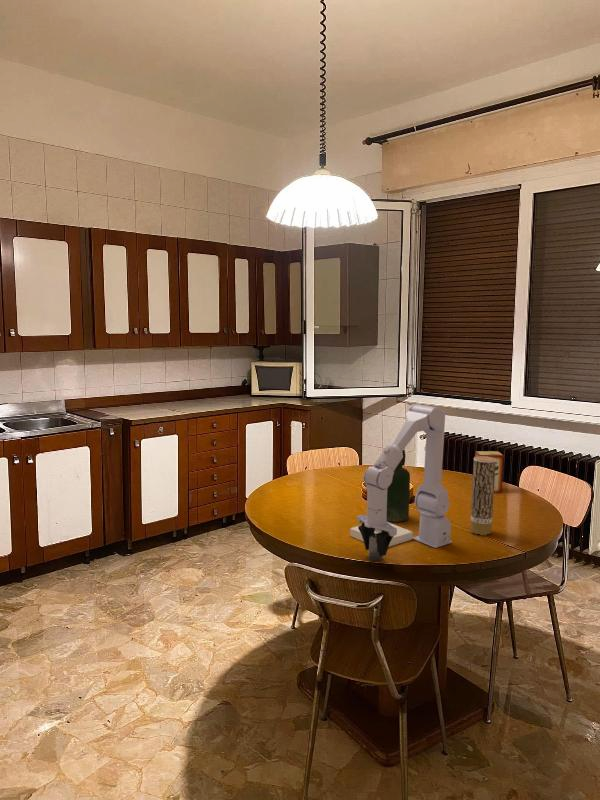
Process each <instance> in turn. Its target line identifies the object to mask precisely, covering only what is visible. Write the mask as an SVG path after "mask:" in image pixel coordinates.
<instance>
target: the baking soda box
mask: <svg viewBox="0 0 600 800" xmlns="http://www.w3.org/2000/svg"><path fill="white" fill-rule="evenodd" d="M476 456H488V457H493V458H495V459H496V464H495V482H494V494H502V493H503V492H502V491H503V490H502V489H503V476H504V475H503V474H504V459H505V458H504V457H505V456H504V454H503V453H501V452H500V451H496V450H495V451H493V450H491V451H490V450H488V451H487V450H486V451H483V450H482V451H481V450H480V451H477V450H475V454H474V457H476Z"/></svg>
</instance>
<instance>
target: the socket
mask: <svg viewBox="0 0 600 800" xmlns="http://www.w3.org/2000/svg"><path fill="white" fill-rule="evenodd" d="M387 522H388V523H389V524H390V525H392V526H393V527H394V528H397V535H395V536H394V537H393V538H392V540H391V542H390V544H389V546H388V548H389V547H393V546H396V545H398V544H403V543H405V542H408V541H412V540H413V533H414V532H413V531H411V530H409V529H406V528H403V527H401V526H399V525H396V524H393V523H391V522H390V521H387ZM361 525H362V524H361ZM361 525H358V526H357V525H356V526H353V527H350V528H349V536H350V537H352V538H355V539H356V540H358V541H361V542H363V543H364V540H363V537H362V535H361V532H360V531H359V529H358V527H359V526H361ZM380 532H382V531H380V530H378V529H376V528H375V532H374V533H380Z"/></svg>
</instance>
